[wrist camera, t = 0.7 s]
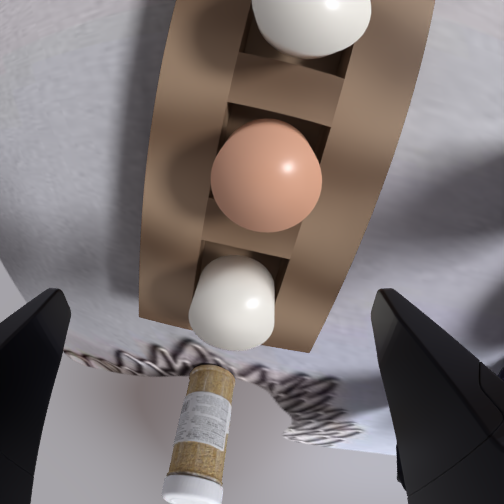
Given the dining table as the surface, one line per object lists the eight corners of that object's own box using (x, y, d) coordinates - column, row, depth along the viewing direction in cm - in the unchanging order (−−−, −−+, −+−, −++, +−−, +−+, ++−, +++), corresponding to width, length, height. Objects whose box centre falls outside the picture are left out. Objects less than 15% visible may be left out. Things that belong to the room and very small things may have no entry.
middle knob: (299, 214, 16) (304, 242, 14) (214, 194, 16) (202, 219, 14) (324, 132, 14) (335, 144, 12) (231, 109, 14) (222, 116, 11)
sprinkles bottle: (218, 395, 31) (200, 513, 20) (181, 375, 30) (151, 498, 19) (245, 376, 30) (233, 508, 18) (206, 355, 28) (178, 493, 17)
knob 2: (340, 71, 13) (357, 69, 10) (246, 47, 12) (239, 39, 10) (361, -9, 10) (380, -26, 8) (267, -34, 10) (265, -57, 8)
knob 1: (264, 321, 20) (262, 357, 18) (195, 307, 20) (185, 341, 17) (283, 264, 18) (284, 298, 15) (204, 247, 18) (193, 278, 15)
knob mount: (305, 315, 25) (309, 352, 22) (155, 283, 24) (138, 317, 21) (408, 1, 13) (437, -12, 10) (213, -50, 12) (199, -75, 9)
